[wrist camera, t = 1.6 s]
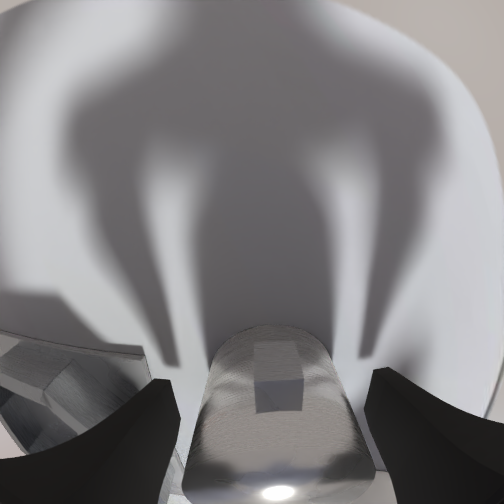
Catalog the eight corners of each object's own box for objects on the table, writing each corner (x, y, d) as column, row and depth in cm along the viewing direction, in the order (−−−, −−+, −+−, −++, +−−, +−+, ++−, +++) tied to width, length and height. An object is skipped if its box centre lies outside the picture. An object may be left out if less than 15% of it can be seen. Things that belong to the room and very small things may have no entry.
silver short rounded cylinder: (325, 412, 10) (353, 512, 5) (217, 418, 10) (200, 521, 5) (337, 296, 9) (411, 396, 4) (200, 303, 9) (145, 413, 4)
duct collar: (195, 492, 12) (189, 526, 9) (56, 454, 12) (42, 477, 10) (144, 355, 10) (115, 402, 7) (-12, 326, 10) (-41, 345, 7)
